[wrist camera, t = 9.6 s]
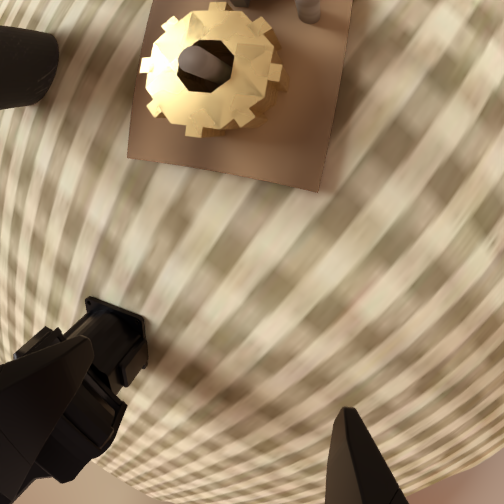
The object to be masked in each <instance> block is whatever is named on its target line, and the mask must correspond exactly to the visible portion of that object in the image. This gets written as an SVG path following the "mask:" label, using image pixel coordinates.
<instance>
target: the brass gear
mask: <svg viewBox="0 0 504 504" xmlns="http://www.w3.org/2000/svg"><path fill="white" fill-rule="evenodd" d="M161 27H162V28H163V29H164V30H165V31H166V32H165V33H164V34H163V35H162V36H161V37H160V38H159V39H157V40H156V41H155V42H154V44H153V49H152V54H151V57H149V58H142V62H141V68H140V73H143V74H147V75H148V76H147V82H146V89H147V91H148V92H149V94H150V95H151V96H152V98H153V100H152V101H151V102H150V103H149V104H148V105H147V108H148V109H149V110H150V112H151V113H152V115H153V116H154V118H167V119H168V120H169V122H170V123H171V124H180V125H186V132H185V136H191V137H198V138H205V137H218V136H225V129H241V128H258V127H260V126H261V125H263V124H264V123H265V122H267V121H268V118H267V117H266V116H265V114H264V112H266V111H267V110H269V109H270V108H272V107H273V106H275V105H276V101H277V95H278V91H282V92H288V88H289V82H290V77H289V76H288V74H287V72H286V70H285V68H284V67H283V62H282V60H281V59H280V57H279V55H278V53H277V51H279V50H280V49H282V47H281V45H280V43H279V41H278V39H277V37H276V34H275V32H274V30H273V28H272V27H271V26H270V25H269V24H268V23H267V22H266V21H265V20H264V18H263V17H262V16H261V17H260V18H258V19H256V20H255V21H253V22H252V21H251V20H250V19H249V18H248V17H247V16H246V15H245V14H244V13H243V12H242V11H234V10H233V9H232V8H231V7H230V5H229V4H228V3H227V2H210V4H209V8H208V11H191V12H190V13H189V14H188V15H186V16H185V17H184V18H182V19H181V20H180V19H178V18H177V17H175V16H173V17H172V18H170V19H169V20H168V21H167V22H166V23H164V24H163V25H162V26H161ZM189 46H199V47H201V48H203V49H204V50H206V51H207V52H209V53H211V54H212V55H214V56H215V57H217V58H220V57H221V56H234V62H233V68H232V73H231V78H230V79H229V80H228V81H226V82H225V83H224V84H222V85H221V86H220V87H218V88H217V89H216V90H214V91H213V92H212V93H210V92H209V90H208V89H207V88H206V86H205V85H204V81H205V79H204V78H201V77H198V76H196V75H193V74H191V73H188V72H185V71H183V70H182V69H181V68H180V67H179V64H178V58H179V55H180V53H181V52H182V51H183V50H184V49H185V48H187V47H189Z"/></svg>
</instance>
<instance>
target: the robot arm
mask: <svg viewBox="0 0 504 504" xmlns="http://www.w3.org/2000/svg"><path fill="white" fill-rule="evenodd" d="M85 304H86V310H87V313H86V314H85V315H84V316H83V317H82V318H81V319H80V320H79V321H78V322H77V323H75V324H74V325H73V326H72V327H71V328H70V329H69V330H68V331H67V332H66V333H65V334H64V335H63V334H62V331H61V330H60V329H59V327H57V328H56V329H55V330H54V331H53V330H52V329H49V328H48V327H46V326H45V327H44V328H43V329H42V330H41V331H39V332H38V333H37V334H36V335H35V336H34V337H33V338H31V339H30V340H29V341H28V342H27V343H26V344H24V345H23V346H22V347H21V348H20V349H19V350H18V351H16V352H15V353H14V354H13V361H10V362H7V363H5V364H2V365H0V504H12V503H13V502H14V501H15V500H16V499H17V498H18V497H19V496H20V495H21V494H22V493H23V492H24V491H25V490H26V489H27V488H28V486H29V485H30V484H31V483H32V482H33V481H34V480H36V479H41V478H50V477H53V478H55V479H56V480H57V481H59V482H60V483H66V482H69V481H72V480H74V479H75V477H76V476H77V475H78V473H79V472H80V471H81V470H82V469H83V467H84V466H85V465H86V464H87V463H88V462H89V461H90V460H91V459H94V458H97V457H98V456H100V455H101V454H103V453H104V452H105V451H106V450H107V449H108V448H109V447H110V445H111V444H112V442H113V441H114V439H115V436H116V434H117V431H118V428H119V426H120V423H121V421H122V418H123V416H124V413H125V411H126V408H127V404H126V403H125V402H124V401H121V400H120V399H119V398H118V397H117V396H116V395H117V394H118V392H119V391H120V390H121V388H122V387H123V386H124V387H128V386H129V385H130V384H131V383H132V381H133V380H134V378H135V377H136V376H137V374H138V373H139V371H140V370H141V369H145V368H146V367H147V365H148V363H147V360H148V352H147V341H146V339H145V325H144V319H143V318H142V317H141V316H139V315H137V314H134V313H131V312H129V311H126V310H123V309H121V308H118V307H115V306H113V305H110V304H108V303H105V302H103V301H100V300H98V299H95V298H93V297H91V296H89V297H87V298H86V299H85ZM138 321H139V322H138ZM325 504H409V503H408V501H407V500H406V498H405V496H404V494H403V492H402V491H401V489H400V488H399V485H398V483H397V482H396V480H395V478H394V476H393V474H392V473H391V471H390V469H389V467H388V465H387V464H386V462H385V460H384V458H383V456H382V455H381V453H380V451H379V449H378V447H377V446H376V444H375V442H374V440H373V438H372V437H371V435H370V433H369V431H368V430H367V428H366V426H365V424H364V422H363V421H362V419H361V417H360V415H359V414H358V412H357V410H356V409H355V408H353V407H342V408H341V410H340V412H339V414H338V416H337V417H336V419H335V421H334V424H333V430H332V437H331V444H330V450H329V456H328V462H327V475H326V493H325Z"/></svg>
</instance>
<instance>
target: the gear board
mask: <svg viewBox="0 0 504 504" xmlns="http://www.w3.org/2000/svg"><path fill="white" fill-rule="evenodd" d="M210 2H227V3H228V4H229V5H230V7H231V8H232V9H233V10H234V11H242V12H243V13H244V14H245V15H246V16H247V17H248V18H249V19H250V20H251V21H252V22H253V21H255V20H256V19H258V18H260V17H261V16H262V17H263V18H264V20H265V21H266V22H267V23H268V24H269V25H270V26H271V27H272V28H273V30H274V32H275V34H276V37H277V39H278V41H279V43H280V45H281V47H282V49H280V50H279V51H277V53H278V55H279V57H280V59H281V60H282V62H283V67H284V68H285V70H286V72H287V74H288V76H289V77H290V82H289V88H288V92H282V91H278V95H277V101H276V105H275V106H273V107H272V108H270V109H269V110H267V111H266V112H264V114H265V116H266V117H267V118H268V121H267V122H265V123H264V124H263V125H261V126H260V127H258V128H241V129H225V136H218V137H205V138H198V137H191V136H185V132H186V125H180V124H171V123H170V122H169V120H168V119H167V118H154V116H153V115H152V113H151V112H150V110H149V109H148V108H147V105H148V104H149V103H150V102H151V101H152V100H153V98H152V96H151V95H150V94H149V92H148V91H147V89H146V82H147V76H148V75H147V74H143V73H140V68H141V62H142V58H149V57H151V54H152V49H153V44H154V42H155V41H156V40H157V39H159V38H160V37H161V36H162V35H163V34H164V33H165V32H166V31H165V30H164V29H163V28H162V27H161V26H162V25H163V24H164V23H166V22H167V21H168V20H169V19H170V18H172V17H173V16H175V17H177V18H178V19H180V20H181V19H182V18H184V17H185V16H186V15H188V14H189V13H190V12H191V11H208V8H209V4H210ZM352 2H353V0H153V3H152V6H151V10H150V14H149V18H148V22H147V27H146V31H145V35H144V40H143V45H142V50H141V55H140V60H139V66H138V71H137V77H136V83H135V90H134V97H133V104H132V112H131V121H130V130H129V140H128V152H127V158H131V159H139V160H146V161H154V162H161V163H168V164H174V165H181V166H187V167H193V168H199V169H205V170H211V171H217V172H222V173H228V174H233V175H238V176H243V177H249V178H254V179H258V180H263V181H268V182H273V183H277V184H282V185H287V186H291V187H295V188H300V189H304V190H308V191H313V192H317V193H318V190H319V186H320V181H321V177H322V172H323V168H324V163H325V158H326V154H327V149H328V144H329V139H330V134H331V129H332V124H333V119H334V114H335V109H336V103H337V98H338V92H339V87H340V81H341V75H342V69H343V63H344V57H345V51H346V45H347V38H348V31H349V24H350V17H351V9H352ZM233 62H234V56H221V57H220V58H217V57H215V56H214V55H212V54H211V53H209V52H207V51H206V50H204V49H203V48H201V47H199V46H189V47H187V48H185V49H184V50H183V51H182V52H181V53H180V55H179V58H178V64H179V67H180V68H181V69H182V70H183V71H185V72H188V73H191V74H193V75H196V76H198V77H201V78H204V79H205V81H204V85H205V86H206V88H207V89H208V90H209V92H210V93H212V92H213V91H214V90H216V89H217V88H218V87H220V86H221V85H222V84H224V83H225V82H226V81H228V80H229V79H230V78H231V73H232V68H233Z"/></svg>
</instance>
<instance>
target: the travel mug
mask: <svg viewBox="0 0 504 504" xmlns="http://www.w3.org/2000/svg"><path fill="white" fill-rule="evenodd" d="M58 57H59V51H58V44H57V41H56V39H55V38H54V37H53V36H52V35H50V34H48V33H44V32H39V31H34V30H28V29H22V28H15V27H8V26H0V110H2V109H8V108H15V107H22V106H28V105H32V104H34V103H36V102H38V101H39V100H40V99H41V98H42V97H43V96H44V95H45V93H46V92H47V90H48V89H49V87H50V85H51V83H52V81H53V78H54V75H55V72H56V69H57V64H58Z"/></svg>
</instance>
